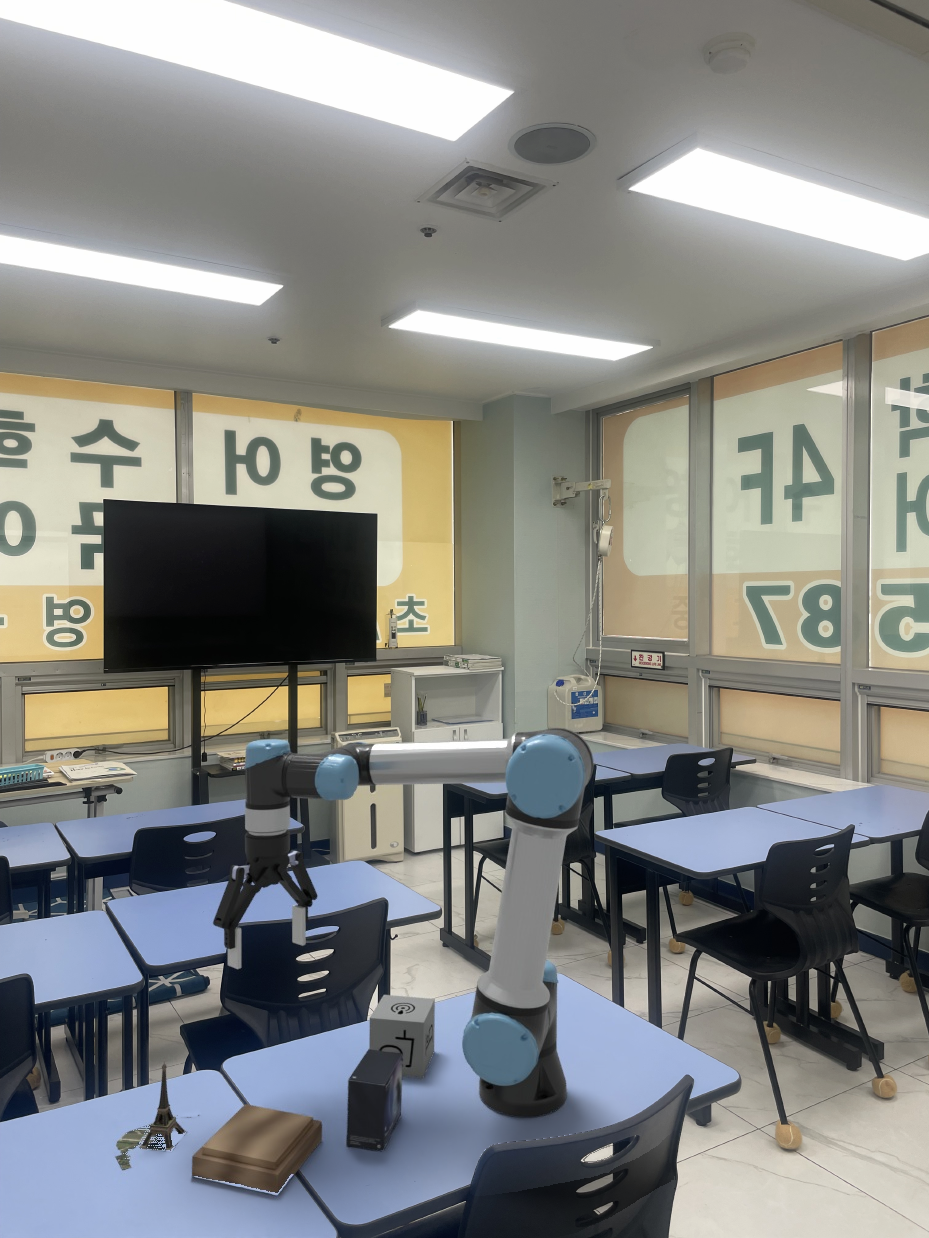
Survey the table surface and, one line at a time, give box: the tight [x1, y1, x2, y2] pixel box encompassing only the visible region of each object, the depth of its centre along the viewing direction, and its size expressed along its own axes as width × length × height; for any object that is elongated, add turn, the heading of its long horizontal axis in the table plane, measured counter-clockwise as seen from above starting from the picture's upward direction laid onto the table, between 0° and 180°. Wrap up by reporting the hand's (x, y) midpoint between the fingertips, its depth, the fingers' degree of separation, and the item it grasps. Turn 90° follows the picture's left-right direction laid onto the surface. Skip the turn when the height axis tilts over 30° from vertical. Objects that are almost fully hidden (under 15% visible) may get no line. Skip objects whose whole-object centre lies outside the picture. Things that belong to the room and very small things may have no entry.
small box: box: [345, 1048, 403, 1152], centre depth 139 cm, size 11×6×10 cm, turn 168°
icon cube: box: [368, 994, 436, 1079], centre depth 161 cm, size 10×10×10 cm
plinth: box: [191, 1103, 323, 1193], centre depth 132 cm, size 14×14×4 cm
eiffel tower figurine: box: [114, 1062, 187, 1170], centre depth 137 cm, size 15×10×13 cm
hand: (267, 954), depth 149 cm, fingers open, 13 cm apart
